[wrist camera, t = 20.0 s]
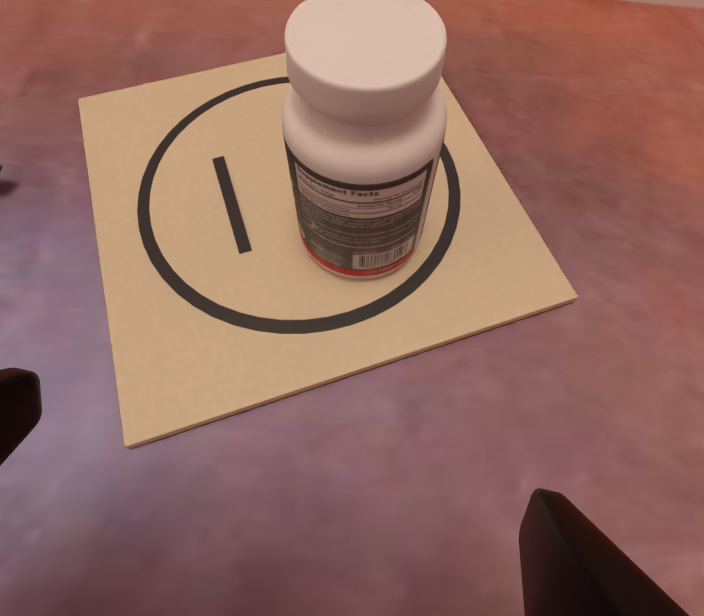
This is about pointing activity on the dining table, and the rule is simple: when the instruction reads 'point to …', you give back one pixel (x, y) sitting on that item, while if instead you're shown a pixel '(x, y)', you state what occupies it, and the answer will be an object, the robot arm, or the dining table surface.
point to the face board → (276, 254)
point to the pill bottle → (363, 128)
